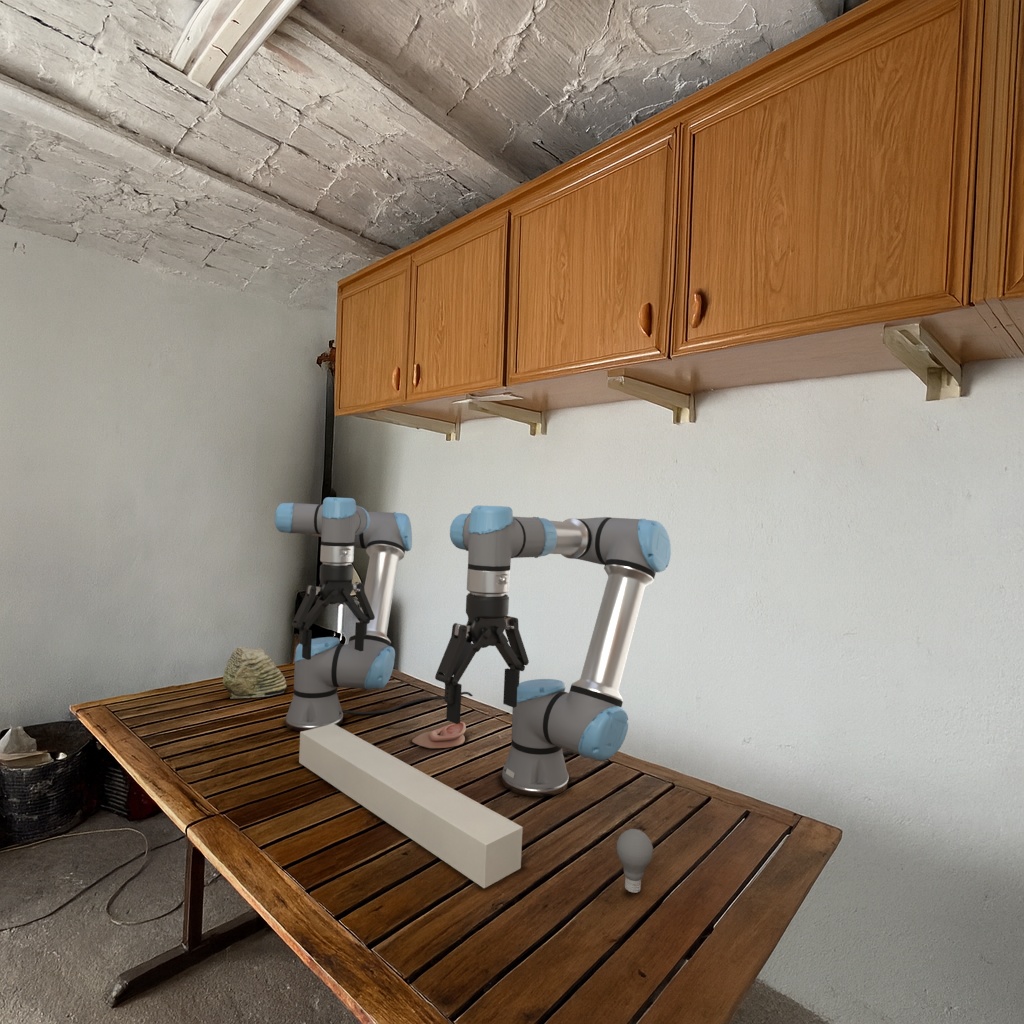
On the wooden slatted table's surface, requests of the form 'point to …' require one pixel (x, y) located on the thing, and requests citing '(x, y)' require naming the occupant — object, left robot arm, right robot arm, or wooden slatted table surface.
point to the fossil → (252, 674)
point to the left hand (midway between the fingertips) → (333, 654)
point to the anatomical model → (442, 736)
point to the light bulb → (634, 857)
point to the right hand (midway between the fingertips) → (482, 713)
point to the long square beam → (416, 804)
